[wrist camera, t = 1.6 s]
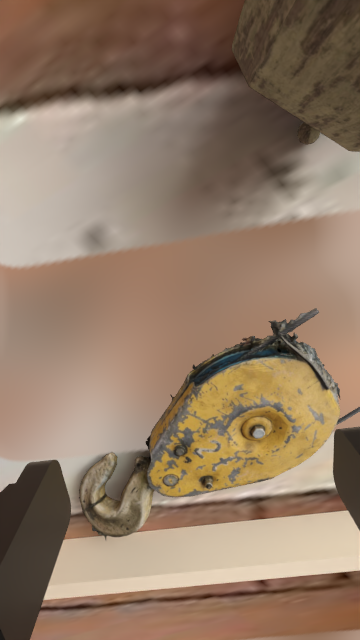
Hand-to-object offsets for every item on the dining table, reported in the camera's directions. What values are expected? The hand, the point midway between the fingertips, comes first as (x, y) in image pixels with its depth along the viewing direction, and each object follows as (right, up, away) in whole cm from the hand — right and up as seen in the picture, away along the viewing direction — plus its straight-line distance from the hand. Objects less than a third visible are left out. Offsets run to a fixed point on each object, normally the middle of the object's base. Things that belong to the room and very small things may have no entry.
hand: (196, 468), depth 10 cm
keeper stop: (+4, -20, +28) cm, 35 cm away
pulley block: (+2, -6, +24) cm, 25 cm away
